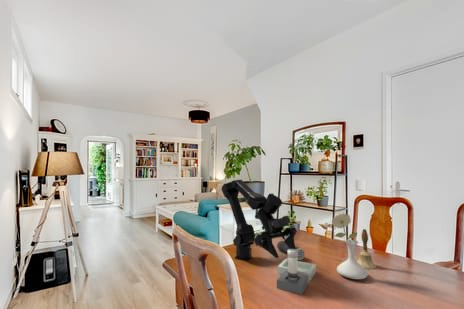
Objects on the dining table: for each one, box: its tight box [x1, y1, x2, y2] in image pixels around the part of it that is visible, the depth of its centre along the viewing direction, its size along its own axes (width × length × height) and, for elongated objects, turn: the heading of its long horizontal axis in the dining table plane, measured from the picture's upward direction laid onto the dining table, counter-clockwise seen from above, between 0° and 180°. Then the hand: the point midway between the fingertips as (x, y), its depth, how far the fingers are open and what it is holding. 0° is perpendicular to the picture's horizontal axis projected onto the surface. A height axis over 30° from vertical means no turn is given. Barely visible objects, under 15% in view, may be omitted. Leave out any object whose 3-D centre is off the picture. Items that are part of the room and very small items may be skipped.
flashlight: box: [276, 240, 305, 261], centre depth 124 cm, size 15×5×5 cm, turn 26°
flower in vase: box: [331, 212, 369, 280], centre depth 101 cm, size 13×11×25 cm
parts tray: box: [277, 258, 317, 283], centre depth 103 cm, size 13×10×3 cm
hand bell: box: [356, 228, 377, 270], centre depth 111 cm, size 8×8×16 cm
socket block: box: [276, 271, 309, 296], centre depth 91 cm, size 9×9×3 cm
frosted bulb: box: [286, 249, 299, 282], centre depth 92 cm, size 4×4×13 cm
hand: (286, 255), depth 94 cm, fingers open, 9 cm apart
